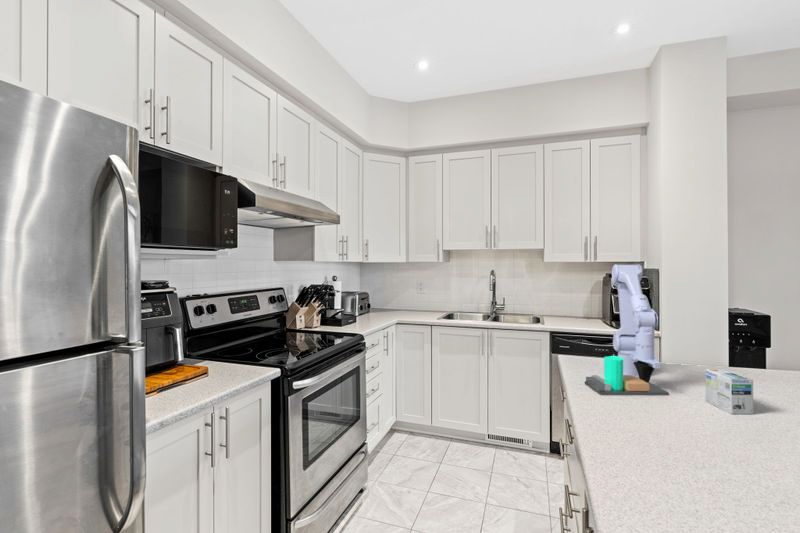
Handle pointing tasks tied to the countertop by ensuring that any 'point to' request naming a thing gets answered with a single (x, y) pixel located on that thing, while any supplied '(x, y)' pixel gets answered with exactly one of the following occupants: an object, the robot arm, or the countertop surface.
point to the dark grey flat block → (605, 389)
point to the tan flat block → (634, 383)
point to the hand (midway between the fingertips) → (644, 383)
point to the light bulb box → (729, 391)
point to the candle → (614, 371)
